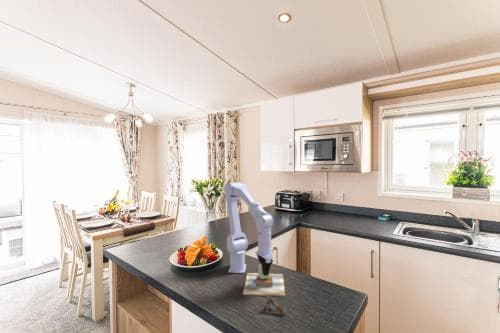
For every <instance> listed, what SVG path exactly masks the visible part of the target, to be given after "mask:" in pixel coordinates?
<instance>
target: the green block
mask: <svg viewBox="0 0 500 333" xmlns="http://www.w3.org/2000/svg"><path fill="white" fill-rule="evenodd" d="M257 267H258V275H259V277H260V279H264V278H269V274H270V273H269V274H268V275H265V276H264V275H263V271H262V265H261V263H259V262H258V266H257Z"/></svg>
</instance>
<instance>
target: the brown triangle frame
mask: <svg viewBox="0 0 500 333" xmlns="http://www.w3.org/2000/svg"><path fill="white" fill-rule="evenodd" d="M266 299H267V302H266V303H265V305H264V307H265V308H267V307H268V309H269V310H270V311H272V312H274V311H275V309H277V310H278V311H279V313H280V314H281V317H282V316H283V315H285V314H286V312H287V309H283V308H282V307H280V305H279V304H277V302H276V301H274V300H273V298H272V296H266ZM270 304H272V305H270Z"/></svg>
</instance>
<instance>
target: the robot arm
mask: <svg viewBox="0 0 500 333" xmlns="http://www.w3.org/2000/svg"><path fill="white" fill-rule="evenodd" d="M223 194H224V198H225V200H226V207H227V208H226V209H227V215H228V223H229V229H230V234H229V235H228V236H227V238H226V249H227V251H228V253H230V255H229V256H230V257H229V258H230V260H229V263H230V267H229V269H228V271H227V272H228V273H233V274H245V272H246V269H247V264H246V263H245V259H246V257H245V256H246V254H245V253H246V252H247V249H248V247H249V241H248V239H247V236H246V235H247V234H245V232H243V231H242V228H241V223H240V221H241V220H240V215H239V207H238V202H237V201H238V200H239V199H242V201H243V202H244V204H246V205H247V206H248V209H247V210H248V212H249V213H250V215H251V216H252V217H253V219H254V220H255V221H254V224H255V226H256V231H257V251H255V255H256V257H257V259H258V261H259V262H258V263H261V265H262V271H263V275H264V276H265V275H268V274H270V269H271V266H272V264H273V262H274V260H273V258H271V257H272V226H274V224H275V218H274V217H273V215H272V214H271V213H268V212H266V211H265V210H264V209H263V208H264V207H262V206H261V204H260V203H259V202H258V201H257V202H256V201H254V199H253V198H252V196H251V195H250V192H249V191H248V186H247V185H246V183H245V182H243V181H238V182H237V181H235V182H226V183H225V185H224V188H223Z"/></svg>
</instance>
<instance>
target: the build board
mask: <svg viewBox="0 0 500 333" xmlns="http://www.w3.org/2000/svg"><path fill="white" fill-rule="evenodd" d="M284 281H285V280H284V275H283V274H282V273H269V278H264V279H260V277H259V275H258V273H256V272H247V273H246V277H245V283H244V287H243V292H242V295H243V296H259V297H262V296H263V297H267V296H270V297H283V298H284V297H286V291H285V282H284Z"/></svg>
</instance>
